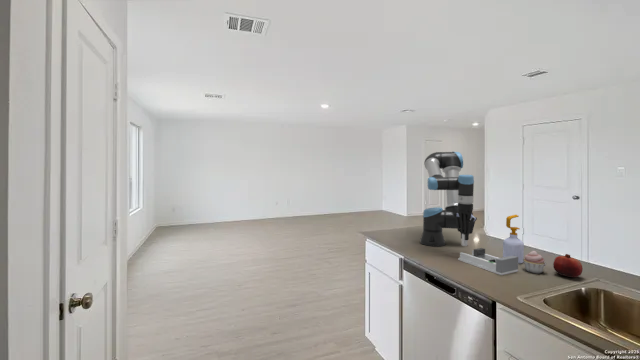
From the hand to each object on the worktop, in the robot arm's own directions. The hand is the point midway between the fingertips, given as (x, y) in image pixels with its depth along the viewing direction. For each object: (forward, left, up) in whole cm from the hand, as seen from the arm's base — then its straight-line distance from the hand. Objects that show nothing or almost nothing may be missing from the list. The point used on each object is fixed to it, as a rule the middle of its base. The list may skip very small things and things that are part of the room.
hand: (464, 245), depth 160 cm
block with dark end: (+15, -2, -6) cm, 16 cm away
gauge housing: (+14, -1, -7) cm, 15 cm away
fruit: (+39, +19, -7) cm, 44 cm away
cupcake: (+29, +12, -7) cm, 32 cm away
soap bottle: (+15, +19, -7) cm, 25 cm away
